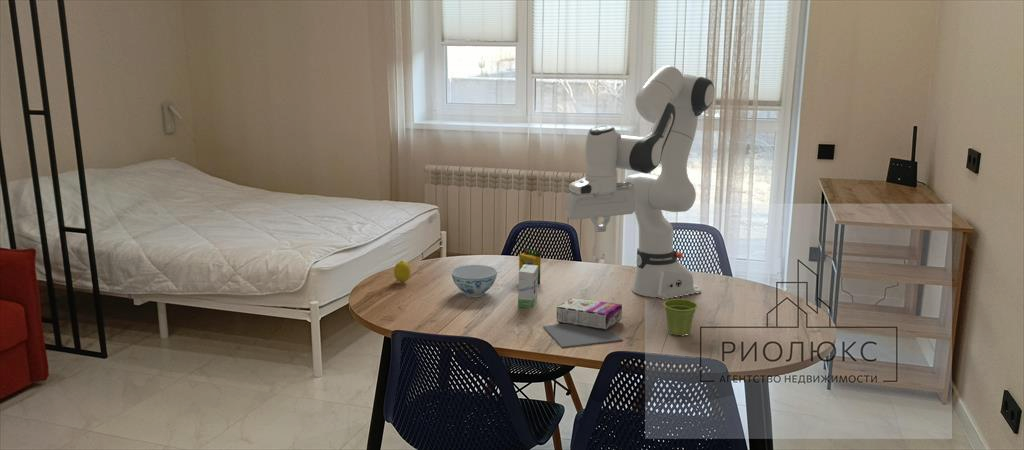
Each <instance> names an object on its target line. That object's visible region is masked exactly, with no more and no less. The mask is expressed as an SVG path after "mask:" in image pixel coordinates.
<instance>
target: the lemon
mask: <svg viewBox="0 0 1024 450" xmlns="http://www.w3.org/2000/svg"><path fill="white" fill-rule="evenodd" d="M393 275H394V278H395V279H396V280H397V281H398V282H400V283H401V284H404V283H405V282H406V281H408V280H409V279H410V277H411V268H410V264H408V263H407V262H406V261H404V260H400V261H398V262H397V263H396V264H395V266H394V271H393Z"/></svg>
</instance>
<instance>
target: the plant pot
mask: <svg viewBox="0 0 1024 450" xmlns="http://www.w3.org/2000/svg"><path fill="white" fill-rule="evenodd" d="M663 306H664V308H665V309H664V310H665V311H666V312H665V313H666V321H667V330H668V331H669V332H670V333H672V334H675V335H674V336H678V335H685V334H689V333H691V329H692V324H693V319H694V314H695V313H696V309H698V304H697V303H696V302H695V301H692V300H689V299H684V298H683V299H682V298H671V299H666V300H665V301H664V302H663ZM669 332H668V333H669ZM670 333H669V334H670ZM689 335H690V334H689Z"/></svg>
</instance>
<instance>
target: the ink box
mask: <svg viewBox="0 0 1024 450" xmlns="http://www.w3.org/2000/svg"><path fill="white" fill-rule="evenodd" d="M538 285H539V284H538V266H537V265H527V264H524V265H523V266H522V267H521V269H520V270H519V269H518V285H517V286H518V291H517V292H518V293H517V307H518V308H527V309H528V308H529V309H533V308H534V305H535V304H536V302H537V300H538V288H539V286H538Z"/></svg>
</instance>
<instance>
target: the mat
mask: <svg viewBox="0 0 1024 450" xmlns="http://www.w3.org/2000/svg"><path fill="white" fill-rule="evenodd" d="M542 327H543V329H544V330H545V331H546V332H547V333H548V334H549V335H550V336H551V338H552V339H553V340H554V341H555V342H556V344H558V345H559V346H560V348H562V349H565V348H575V347H582V346H590V345H598V344H608V343H615V342H623V341H624V338H622V337H621V336H619V334H618V333H617V332H615V331H614V330H613V329H612V328H611V327H609V328H607V329H600V328H594V327H588V326H582V325H575V324H569V323H560V324H558V323H557V324H552V325H551V324H550V325H543V326H542Z"/></svg>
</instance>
